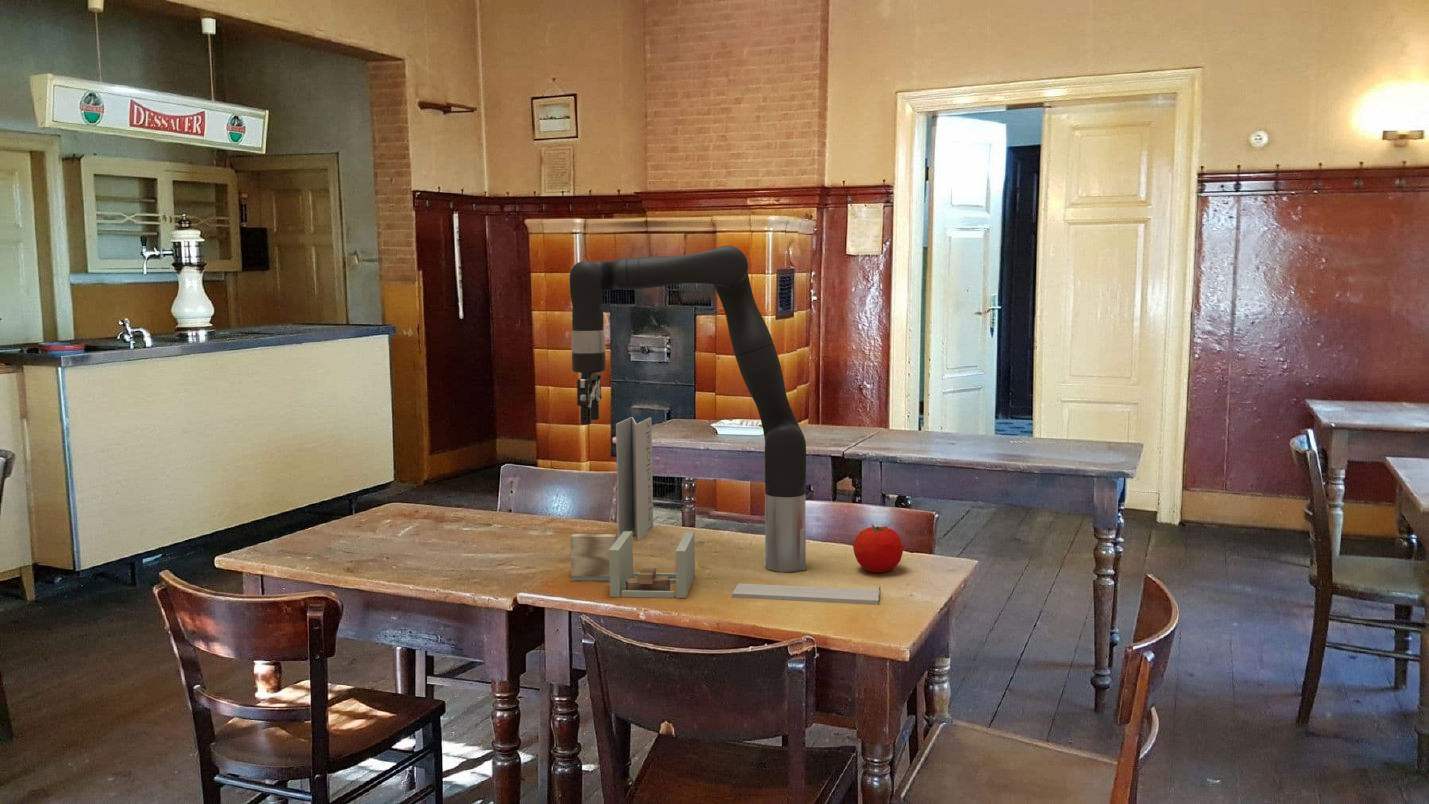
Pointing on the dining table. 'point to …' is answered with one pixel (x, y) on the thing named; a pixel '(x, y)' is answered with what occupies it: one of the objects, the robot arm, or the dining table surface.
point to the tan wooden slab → (591, 554)
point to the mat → (591, 578)
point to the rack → (684, 573)
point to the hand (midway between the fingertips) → (590, 422)
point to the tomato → (878, 549)
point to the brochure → (634, 476)
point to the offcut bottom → (658, 584)
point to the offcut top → (647, 575)
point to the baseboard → (807, 593)
